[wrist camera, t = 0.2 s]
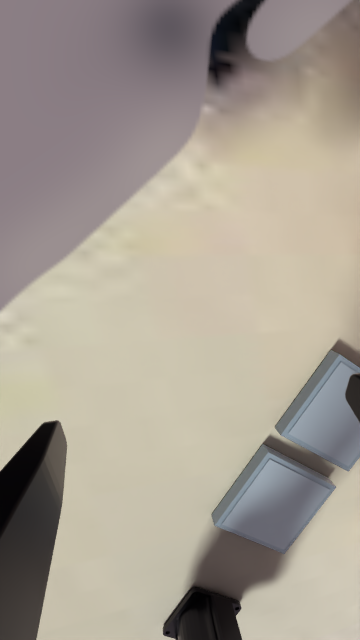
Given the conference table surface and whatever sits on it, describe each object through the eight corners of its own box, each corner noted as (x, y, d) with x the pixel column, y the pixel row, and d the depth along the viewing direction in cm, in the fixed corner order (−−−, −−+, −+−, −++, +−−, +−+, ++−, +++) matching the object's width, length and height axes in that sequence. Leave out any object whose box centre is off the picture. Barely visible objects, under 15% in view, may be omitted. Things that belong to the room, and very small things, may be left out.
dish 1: (278, 542, 31) (284, 554, 30) (211, 514, 29) (214, 526, 28) (328, 478, 30) (337, 487, 29) (262, 443, 28) (268, 452, 27)
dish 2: (340, 463, 30) (349, 472, 29) (274, 427, 28) (281, 435, 27) (394, 392, 29) (406, 399, 28) (330, 349, 27) (340, 354, 26)
